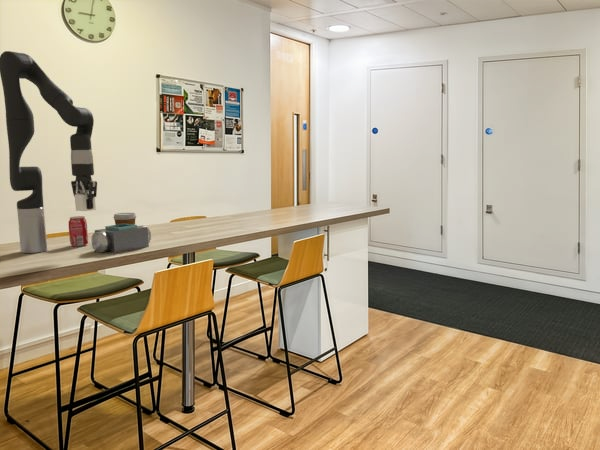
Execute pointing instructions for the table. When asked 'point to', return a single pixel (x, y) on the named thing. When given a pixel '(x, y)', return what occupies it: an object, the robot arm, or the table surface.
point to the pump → (82, 202)
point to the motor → (120, 238)
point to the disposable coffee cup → (124, 218)
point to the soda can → (78, 231)
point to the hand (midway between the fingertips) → (85, 208)
